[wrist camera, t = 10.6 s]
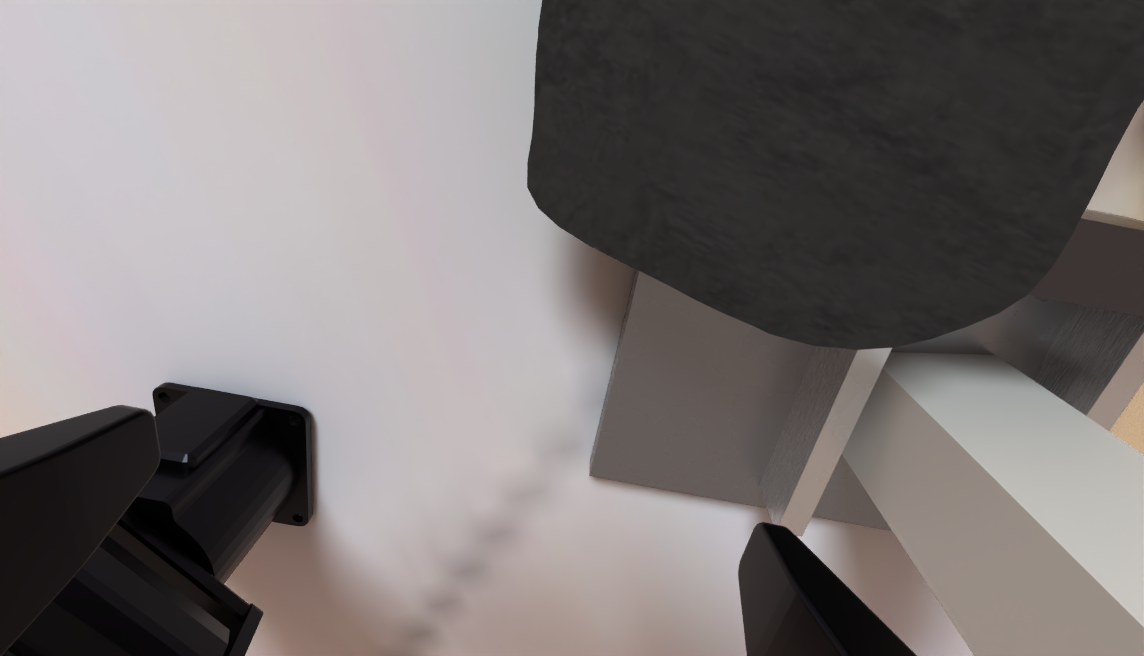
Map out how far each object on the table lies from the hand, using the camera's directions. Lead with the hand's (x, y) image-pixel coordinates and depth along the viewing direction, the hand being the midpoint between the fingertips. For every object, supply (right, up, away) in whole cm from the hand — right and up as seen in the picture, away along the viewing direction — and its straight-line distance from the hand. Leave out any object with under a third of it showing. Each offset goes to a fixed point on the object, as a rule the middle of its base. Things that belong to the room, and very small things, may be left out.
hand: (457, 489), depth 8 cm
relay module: (+15, -1, +13) cm, 19 cm away
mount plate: (+12, +1, +13) cm, 17 cm away
